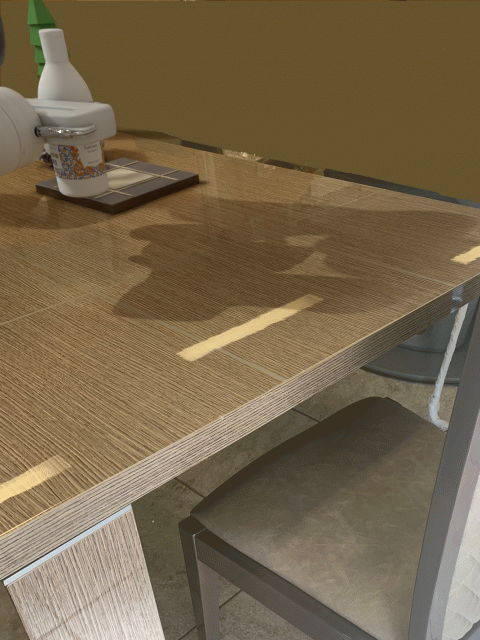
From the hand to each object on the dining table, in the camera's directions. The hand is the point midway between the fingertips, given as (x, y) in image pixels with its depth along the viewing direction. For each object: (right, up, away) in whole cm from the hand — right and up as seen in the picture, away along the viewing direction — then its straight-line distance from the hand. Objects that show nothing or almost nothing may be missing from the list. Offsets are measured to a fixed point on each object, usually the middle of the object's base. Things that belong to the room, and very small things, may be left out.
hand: (70, 106), depth 87 cm
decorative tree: (-22, +22, +58) cm, 66 cm away
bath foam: (0, -9, +6) cm, 11 cm away
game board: (-2, -1, +27) cm, 27 cm away
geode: (-16, +10, +41) cm, 45 cm away
